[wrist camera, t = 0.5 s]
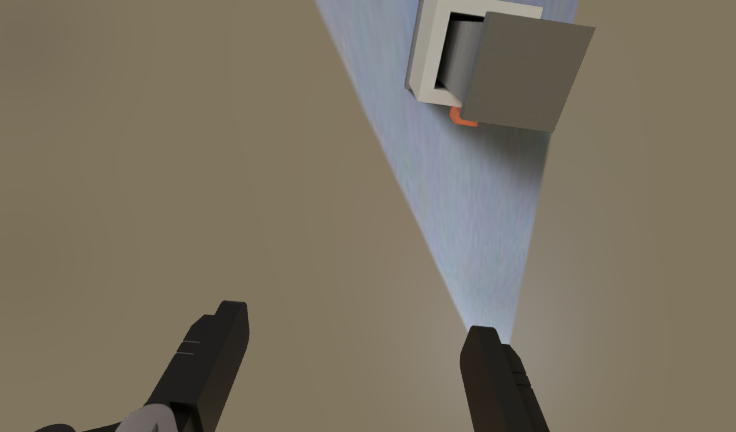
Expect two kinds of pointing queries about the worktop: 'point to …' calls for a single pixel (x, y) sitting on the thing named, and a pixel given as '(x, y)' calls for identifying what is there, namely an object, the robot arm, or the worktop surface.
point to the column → (512, 68)
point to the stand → (433, 15)
